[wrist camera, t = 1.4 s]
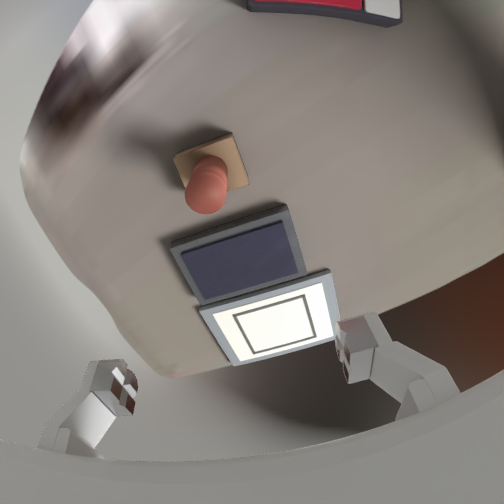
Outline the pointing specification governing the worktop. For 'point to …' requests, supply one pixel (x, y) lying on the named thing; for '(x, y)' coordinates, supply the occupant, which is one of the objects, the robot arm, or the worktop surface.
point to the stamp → (211, 173)
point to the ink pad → (240, 256)
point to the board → (275, 319)
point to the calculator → (337, 9)
